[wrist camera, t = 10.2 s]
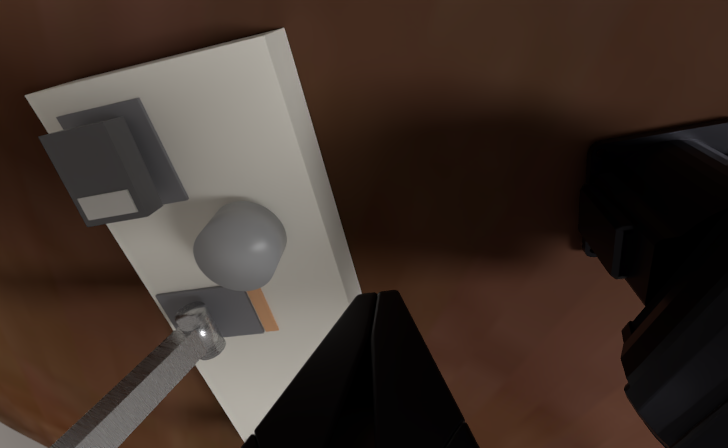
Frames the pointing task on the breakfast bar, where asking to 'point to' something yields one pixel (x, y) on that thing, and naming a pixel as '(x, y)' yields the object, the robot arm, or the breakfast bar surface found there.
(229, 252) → the push button
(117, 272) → the breakfast bar surface
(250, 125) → the control panel
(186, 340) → the copper ball joystick
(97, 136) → the block
